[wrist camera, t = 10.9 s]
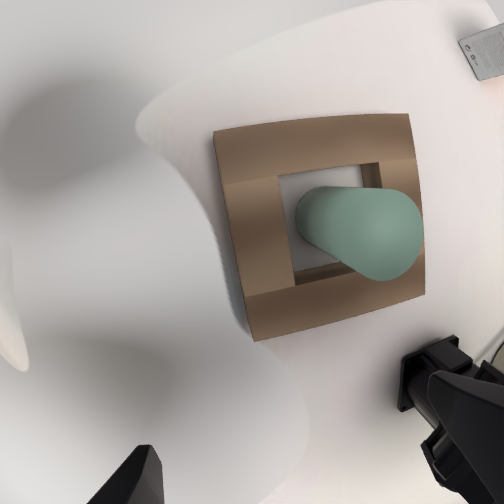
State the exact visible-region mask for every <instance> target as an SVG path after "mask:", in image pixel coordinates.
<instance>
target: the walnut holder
mask: <svg viewBox="0 0 504 504" xmlns="http://www.w3.org/2000/svg"><path fill="white" fill-rule="evenodd" d="M213 141H214V146H215V152H216V157H217V163H218V168H219V173H220V179H221V184H222V190H223V195H224V200H225V205H226V211H227V216H228V221H229V226H230V232H231V237H232V242H233V247H234V252H235V257H236V262H237V268H238V273H239V278H240V283H241V288H242V293H243V298H244V303H245V308H246V312H247V317H248V322H249V327H250V330H251V333H252V337H253V340H254V342H256V341H260V340H265V339H269V338H274V337H278V336H282V335H286V334H290V333H295V332H299V331H303V330H307V329H311V328H314V327H318V326H322V325H326V324H330V323H333V322H337V321H340V320H344V319H348V318H351V317H355V316H358V315H361V314H365V313H368V312H372V311H375V310H378V309H381V308H385V307H388V306H391V305H394V304H397V303H400V302H403V301H407V300H410V299H413V298H416V297H419V296H421V295H424V294H425V248H424V228H423V241H422V246H421V249H420V252H419V254H418V256H417V258H416V260H415V261H414V263H413V264H412V266H411V267H410V268H409V269H408V270H407V271H406V272H405V273H403V274H402V275H400V276H399V277H397V278H394V279H392V280H387V281H376V280H372V279H370V278H367V277H366V276H364V275H362V274H361V273H359V272H357V271H356V270H354V269H353V268H351V267H349V266H348V265H346V264H344V263H343V262H339V263H335V264H330V265H326V266H322V267H317V268H313V269H308V270H304V271H299V272H295V273H293V267H292V260H291V254H290V247H289V241H288V234H287V228H286V222H285V216H284V210H283V204H282V198H281V192H280V186H279V180H278V176H279V175H285V174H291V173H298V172H305V171H311V170H318V169H326V168H333V167H341V166H349V165H357V164H361V169H362V175H363V182H364V188H378V189H393V190H397V191H400V192H402V193H404V194H405V195H407V196H408V197H409V198H411V200H412V201H413V202H414V203H415V205H416V206H417V208H418V210H419V212H420V215H421V218H422V222H423V214H422V202H421V192H420V183H419V175H418V168H417V161H416V154H415V148H414V142H413V136H412V130H411V125H410V120H409V115H408V114H363V115H345V116H330V117H318V118H307V119H297V120H288V121H279V122H272V123H264V124H257V125H250V126H243V127H237V128H231V129H225V130H219V131H214V132H213Z"/></svg>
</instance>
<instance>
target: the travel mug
mask: <svg viewBox="0 0 504 504" xmlns="http://www.w3.org/2000/svg"><path fill="white" fill-rule="evenodd" d="M492 365H494V366H495V367H497V368H499V369H500V370H502V371H503V372H504V344H503V346H502V347H501V349H500V350H499V351H498V353H497V355H496V356H495V358H494V361H493V363H492Z"/></svg>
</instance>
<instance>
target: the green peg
mask: <svg viewBox="0 0 504 504" xmlns="http://www.w3.org/2000/svg"><path fill="white" fill-rule="evenodd" d="M296 223H297V227H298V230H299V232H300V234H301V235H302V237H303V238H304V239H305V240H306V241H308V242H309V243H311V244H312V245H314V246H316V247H317V248H319V249H321V250H322V251H324V252H326V253H328V254H329V255H331V256H333V257H334V258H336V259H338V260H339V261H341V262H343V263H344V264H346V265H348V266H349V267H351V268H353V269H354V270H356V271H357V272H359V273H361V274H362V275H364V276H366V277H367V278H370V279H372V280H376V281H387V280H392V279H394V278H397V277H399V276H400V275H402V274H403V273H405V272H406V271H407V270H408V269H409V268H410V267H411V266H412V264H413V263H414V261H415V260H416V258H417V256H418V254H419V252H420V249H421V246H422V241H423V222H422V218H421V215H420V212H419V210H418V208H417V206H416V205H415V203H414V202H413V201H412V200H411V198H409V197H408V196H407V195H405V194H404V193H402V192H400V191H397V190H393V189H378V188H357V187H329V186H323V187H317V188H314V189H312V190H310V191H309V192H308V193H306V194H305V195H304V196H303V198H302V199H301V201H300V202H299V205H298V207H297V211H296Z"/></svg>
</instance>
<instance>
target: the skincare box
mask: <svg viewBox="0 0 504 504" xmlns="http://www.w3.org/2000/svg"><path fill="white" fill-rule="evenodd" d="M459 44H460V45H461V47H462V49H463V51H464V53H465V55H466V56H467V58H468V60H469V62H470V64H471V66H472V68H473V70H474V72H475V74H476V76H477V78H478V80H480V81H481V80H485V79H488V78H492V77H496V76H500V75H504V23H502V24H499V25H497V26H494V27H491V28H489V29H486V30H484V31H481V32H479V33H476V34H474V35H472V36H469V37H467V38H465V39H462V40H460V41H459Z"/></svg>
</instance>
